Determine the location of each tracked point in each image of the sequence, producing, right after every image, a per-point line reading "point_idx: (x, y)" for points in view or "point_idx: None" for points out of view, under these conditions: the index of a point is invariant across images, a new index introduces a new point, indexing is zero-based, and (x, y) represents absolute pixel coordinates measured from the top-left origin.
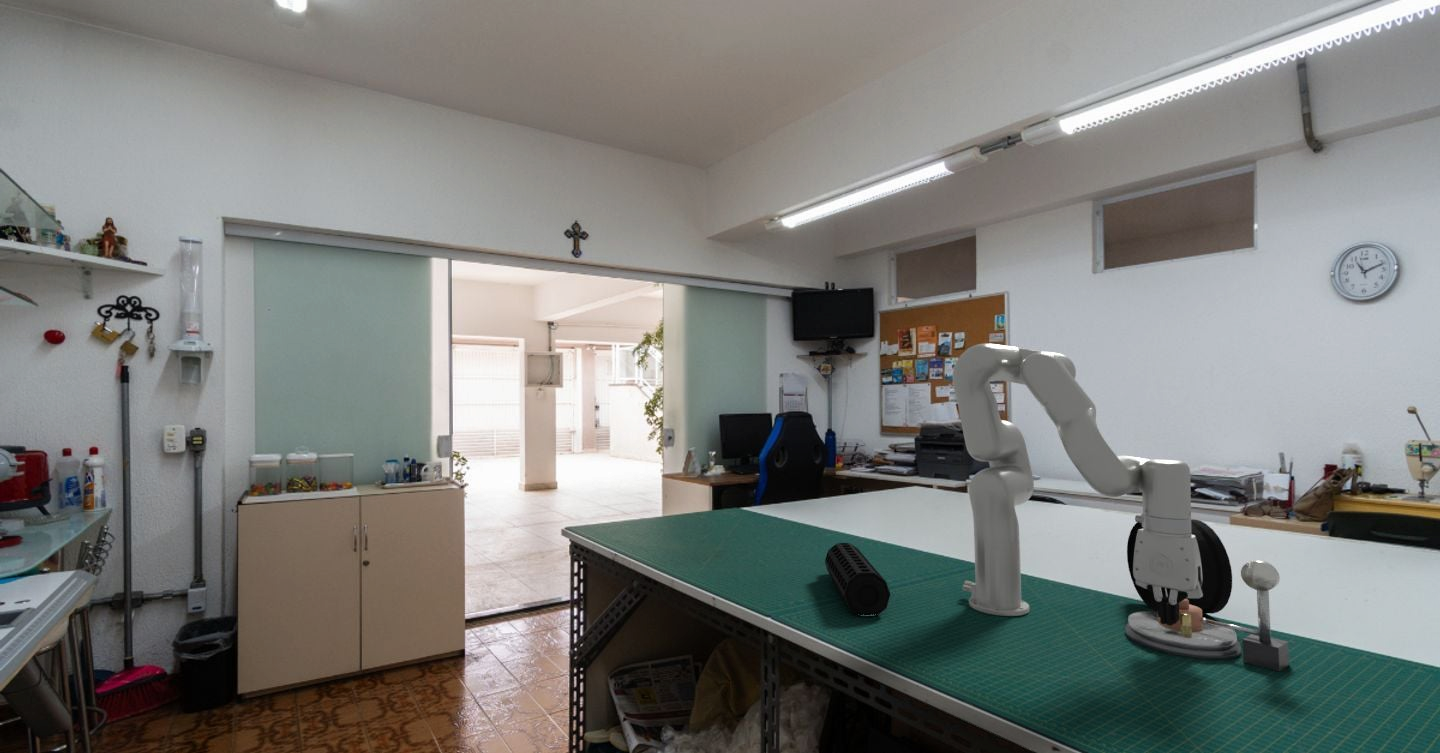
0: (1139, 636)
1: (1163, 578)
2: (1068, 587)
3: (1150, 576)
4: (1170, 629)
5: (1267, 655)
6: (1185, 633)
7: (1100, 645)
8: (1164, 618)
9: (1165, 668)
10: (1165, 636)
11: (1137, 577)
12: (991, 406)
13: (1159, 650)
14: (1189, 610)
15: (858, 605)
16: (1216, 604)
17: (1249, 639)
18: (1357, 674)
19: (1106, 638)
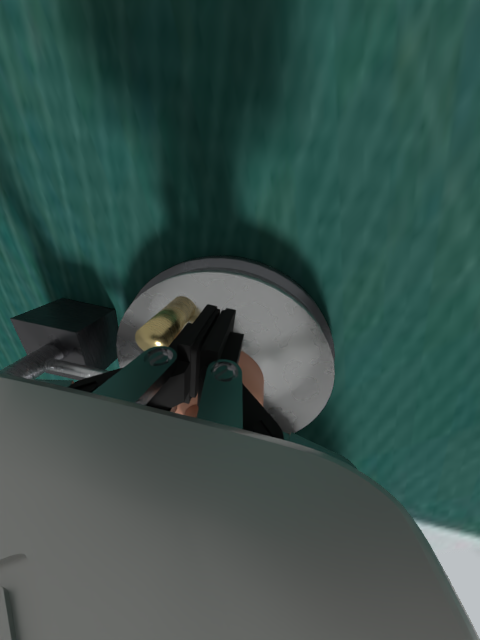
0: (296, 296)
1: (23, 507)
2: (438, 515)
3: (213, 542)
4: None
5: (53, 311)
6: (177, 301)
7: (400, 179)
8: (219, 315)
9: (197, 97)
10: (223, 273)
11: (382, 512)
12: None
13: (244, 258)
14: (178, 405)
15: None
16: None
17: (68, 340)
18: (20, 358)
19: (377, 268)
